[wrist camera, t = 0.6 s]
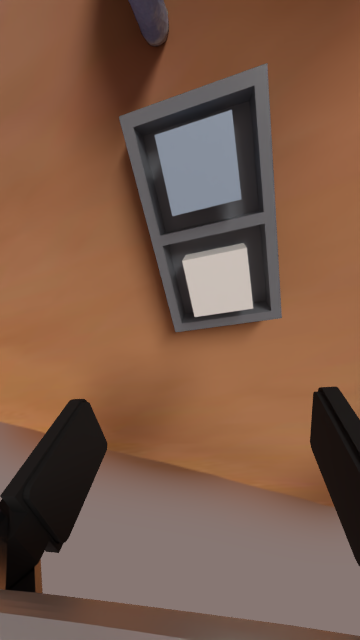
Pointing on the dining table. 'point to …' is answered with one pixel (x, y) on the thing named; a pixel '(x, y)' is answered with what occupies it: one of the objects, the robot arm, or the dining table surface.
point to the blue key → (200, 164)
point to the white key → (219, 280)
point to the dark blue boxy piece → (151, 20)
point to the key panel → (221, 220)
